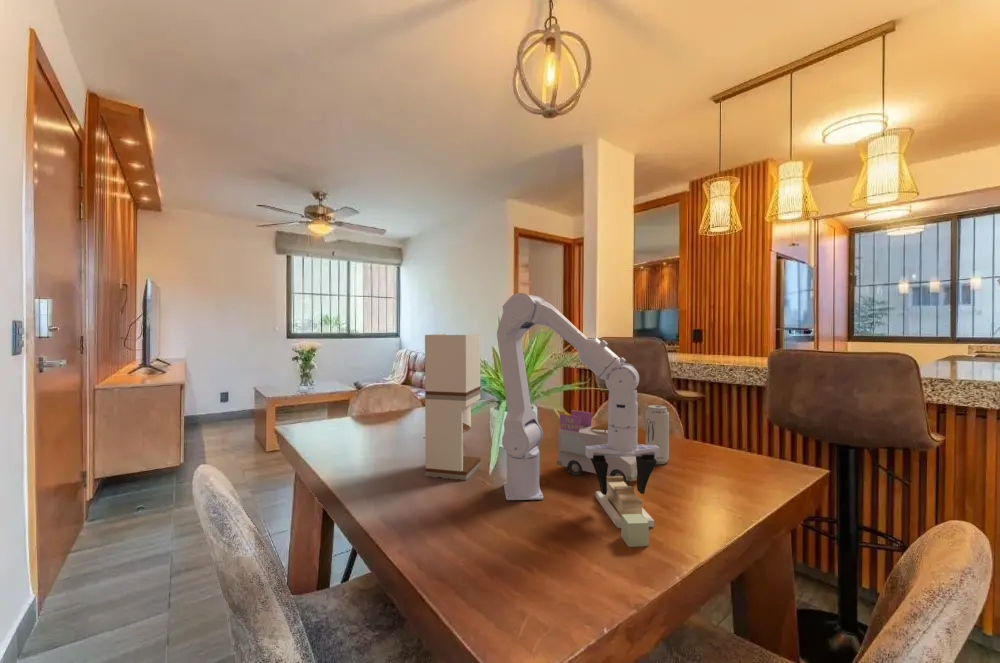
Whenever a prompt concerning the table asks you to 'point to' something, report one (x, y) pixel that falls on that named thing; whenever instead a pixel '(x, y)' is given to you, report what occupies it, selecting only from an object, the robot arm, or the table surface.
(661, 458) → the energy drink can
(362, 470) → the table surface
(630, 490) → the tan stepped block
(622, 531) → the block
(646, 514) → the jig
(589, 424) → the toy vehicle
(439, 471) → the beige tall block
